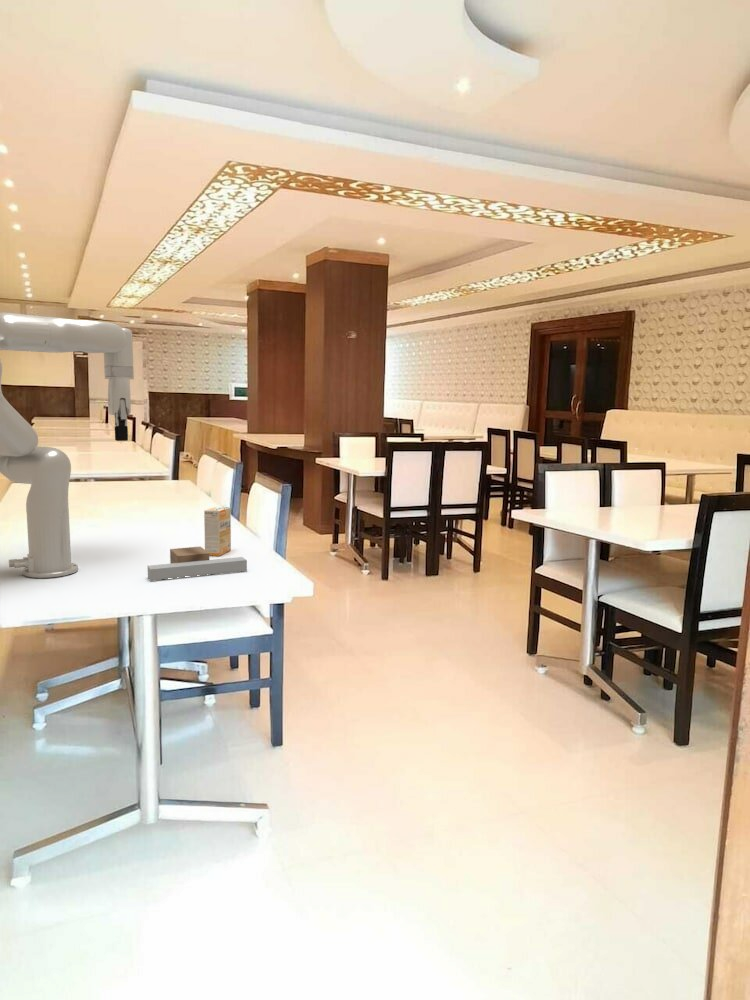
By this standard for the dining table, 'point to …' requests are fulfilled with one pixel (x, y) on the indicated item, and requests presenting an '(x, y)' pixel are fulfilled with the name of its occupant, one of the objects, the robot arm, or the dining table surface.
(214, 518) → the supplement box
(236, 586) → the dining table surface
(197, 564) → the grey board
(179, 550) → the walnut block
